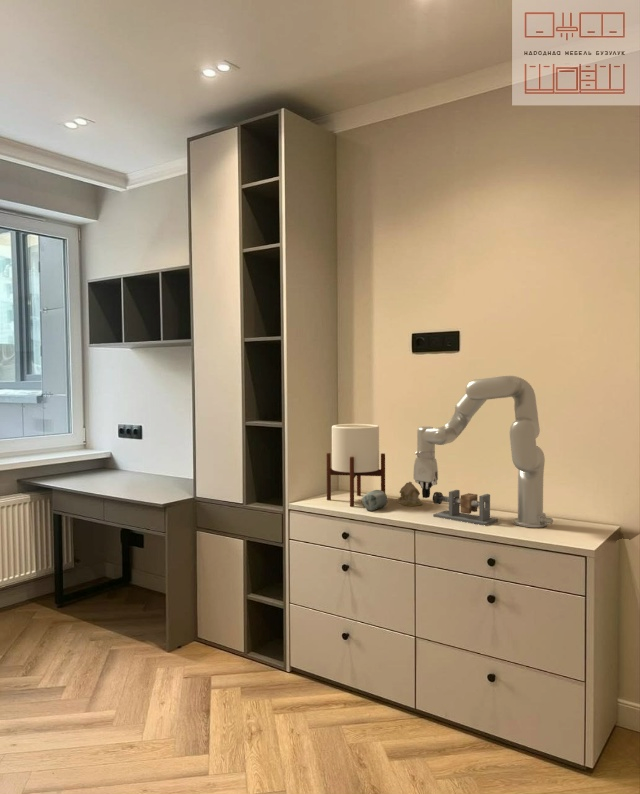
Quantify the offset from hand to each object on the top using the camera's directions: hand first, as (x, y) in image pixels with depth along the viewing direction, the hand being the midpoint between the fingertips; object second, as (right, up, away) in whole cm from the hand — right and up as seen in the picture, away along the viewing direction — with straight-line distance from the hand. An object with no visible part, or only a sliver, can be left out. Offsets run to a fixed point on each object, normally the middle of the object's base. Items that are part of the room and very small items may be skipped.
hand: (426, 497), depth 268 cm
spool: (-21, -7, +8) cm, 24 cm away
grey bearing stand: (+14, -7, -13) cm, 20 cm away
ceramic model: (-4, -6, +20) cm, 22 cm away
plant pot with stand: (-29, -6, +26) cm, 40 cm away
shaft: (+11, -2, -10) cm, 15 cm away
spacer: (+15, -4, -14) cm, 21 cm away
